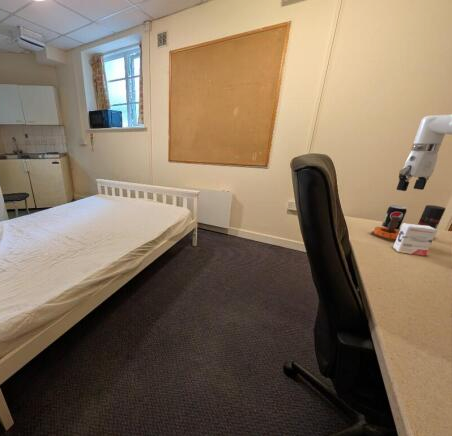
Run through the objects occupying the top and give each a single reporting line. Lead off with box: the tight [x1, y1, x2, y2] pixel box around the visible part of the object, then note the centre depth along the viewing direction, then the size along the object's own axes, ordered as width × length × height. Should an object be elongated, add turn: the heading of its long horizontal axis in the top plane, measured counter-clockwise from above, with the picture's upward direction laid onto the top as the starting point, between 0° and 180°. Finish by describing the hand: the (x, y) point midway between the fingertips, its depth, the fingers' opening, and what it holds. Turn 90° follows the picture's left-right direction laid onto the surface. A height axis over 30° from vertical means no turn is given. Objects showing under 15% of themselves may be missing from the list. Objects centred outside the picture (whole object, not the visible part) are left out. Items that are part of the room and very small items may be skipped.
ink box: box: [392, 222, 438, 257], centre depth 91 cm, size 8×5×12 cm, turn 66°
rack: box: [370, 216, 400, 243], centre depth 105 cm, size 9×9×10 cm
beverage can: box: [381, 204, 408, 231], centre depth 114 cm, size 7×7×12 cm
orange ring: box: [373, 226, 400, 239], centre depth 105 cm, size 10×10×2 cm
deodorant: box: [417, 204, 446, 230], centre depth 104 cm, size 6×6×15 cm
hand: (409, 189), depth 95 cm, fingers open, 9 cm apart
